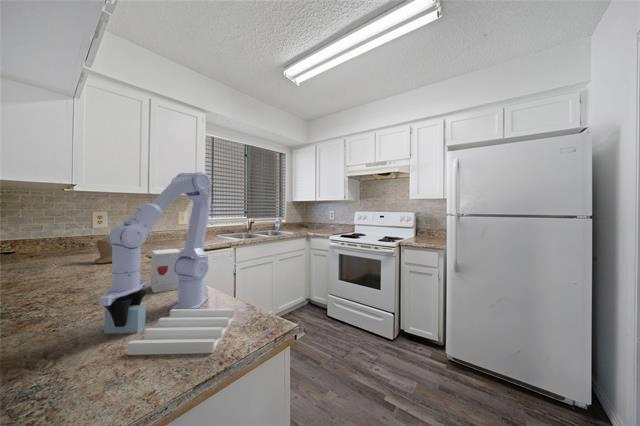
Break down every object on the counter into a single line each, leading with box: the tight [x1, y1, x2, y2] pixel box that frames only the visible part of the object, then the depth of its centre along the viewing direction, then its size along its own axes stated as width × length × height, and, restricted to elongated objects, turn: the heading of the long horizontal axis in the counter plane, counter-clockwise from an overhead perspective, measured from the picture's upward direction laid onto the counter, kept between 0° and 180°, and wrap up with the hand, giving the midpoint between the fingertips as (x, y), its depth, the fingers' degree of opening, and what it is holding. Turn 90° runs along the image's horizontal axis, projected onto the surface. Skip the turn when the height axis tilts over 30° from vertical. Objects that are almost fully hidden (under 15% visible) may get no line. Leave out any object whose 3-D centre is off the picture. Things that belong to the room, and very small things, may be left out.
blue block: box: [103, 304, 147, 334], centre depth 63 cm, size 3×8×6 cm, turn 95°
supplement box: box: [150, 248, 182, 294], centre depth 96 cm, size 9×9×15 cm
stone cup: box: [93, 236, 113, 264], centre depth 138 cm, size 15×12×15 cm
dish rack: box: [126, 308, 236, 356], centre depth 63 cm, size 18×18×2 cm
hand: (125, 322), depth 63 cm, fingers open, 3 cm apart
